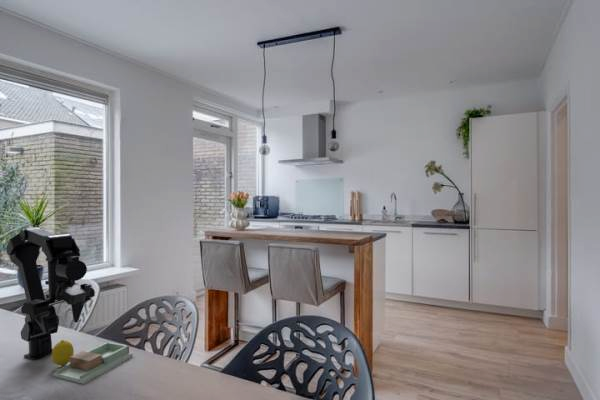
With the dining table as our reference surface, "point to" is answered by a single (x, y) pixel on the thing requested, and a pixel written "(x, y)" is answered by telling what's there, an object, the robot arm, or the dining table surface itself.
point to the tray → (110, 358)
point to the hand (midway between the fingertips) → (61, 327)
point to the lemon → (62, 353)
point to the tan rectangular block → (85, 360)
